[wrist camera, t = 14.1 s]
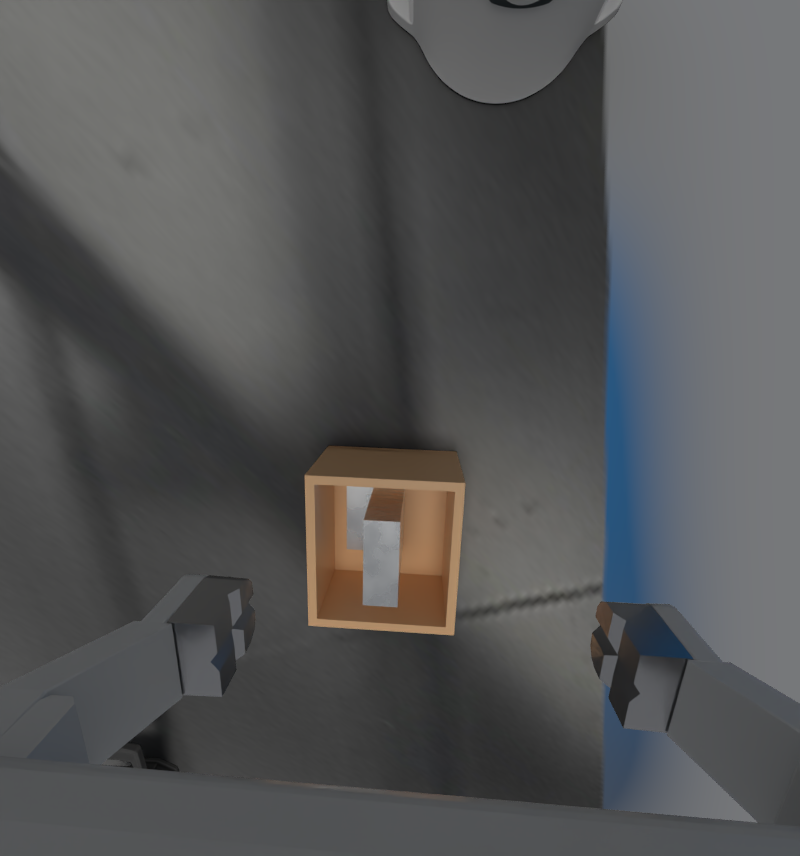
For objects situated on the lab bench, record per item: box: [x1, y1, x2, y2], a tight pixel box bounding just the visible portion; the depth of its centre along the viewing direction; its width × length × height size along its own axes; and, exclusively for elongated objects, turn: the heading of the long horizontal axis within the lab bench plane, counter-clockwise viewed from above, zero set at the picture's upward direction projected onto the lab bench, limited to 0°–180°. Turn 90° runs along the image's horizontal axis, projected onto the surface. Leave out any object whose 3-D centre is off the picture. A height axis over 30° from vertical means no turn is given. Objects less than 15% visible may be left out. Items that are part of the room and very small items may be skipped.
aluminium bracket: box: [347, 486, 405, 607], centre depth 39 cm, size 8×6×10 cm
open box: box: [305, 446, 465, 635], centre depth 40 cm, size 15×14×9 cm
